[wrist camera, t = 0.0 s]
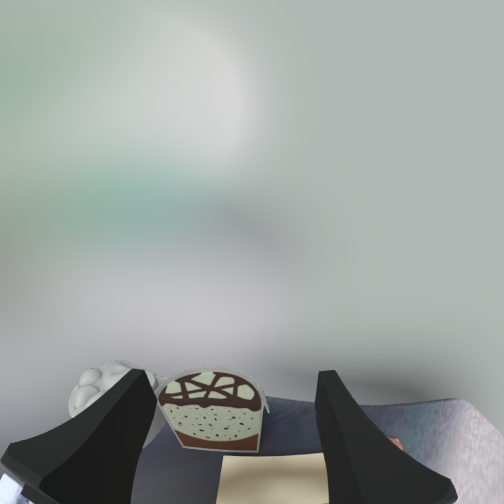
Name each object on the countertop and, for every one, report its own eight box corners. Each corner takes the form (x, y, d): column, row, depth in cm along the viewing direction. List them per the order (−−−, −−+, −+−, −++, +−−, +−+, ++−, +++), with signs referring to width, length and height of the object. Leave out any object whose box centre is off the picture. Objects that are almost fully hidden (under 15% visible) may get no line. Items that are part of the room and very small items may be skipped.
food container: (271, 417, 32) (269, 362, 30) (271, 452, 26) (269, 399, 24) (182, 414, 33) (165, 360, 30) (171, 446, 27) (148, 393, 24)
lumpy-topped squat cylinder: (177, 411, 34) (163, 366, 31) (124, 471, 22) (94, 429, 20) (127, 389, 37) (110, 346, 35) (74, 435, 26) (47, 392, 23)
